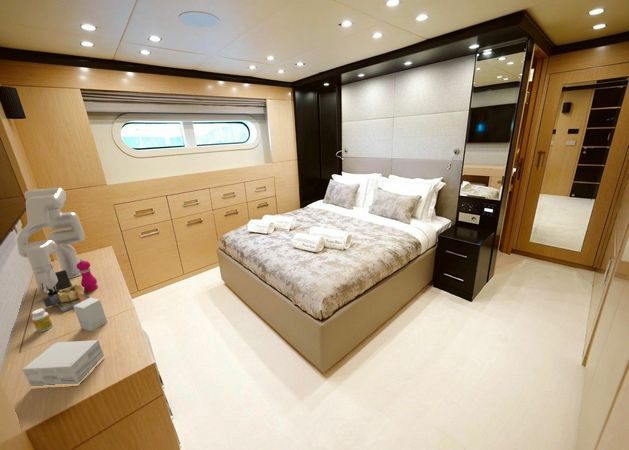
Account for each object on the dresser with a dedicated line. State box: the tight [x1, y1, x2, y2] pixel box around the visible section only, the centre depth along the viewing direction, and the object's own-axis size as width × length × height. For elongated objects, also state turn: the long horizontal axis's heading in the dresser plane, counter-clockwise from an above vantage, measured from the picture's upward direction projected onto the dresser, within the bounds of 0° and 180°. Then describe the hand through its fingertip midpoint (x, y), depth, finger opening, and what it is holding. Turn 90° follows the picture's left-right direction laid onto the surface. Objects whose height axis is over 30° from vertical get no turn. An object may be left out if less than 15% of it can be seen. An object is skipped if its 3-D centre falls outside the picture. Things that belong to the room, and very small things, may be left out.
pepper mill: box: [77, 258, 99, 293], centre depth 155 cm, size 7×7×20 cm
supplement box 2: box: [73, 297, 108, 332], centre depth 123 cm, size 7×7×13 cm
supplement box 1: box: [21, 339, 105, 387], centre depth 98 cm, size 17×13×9 cm
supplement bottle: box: [31, 308, 53, 333], centre depth 123 cm, size 5×5×10 cm
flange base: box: [55, 290, 91, 313], centre depth 144 cm, size 16×12×6 cm
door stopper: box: [54, 270, 73, 293], centre depth 156 cm, size 9×6×12 cm, turn 41°
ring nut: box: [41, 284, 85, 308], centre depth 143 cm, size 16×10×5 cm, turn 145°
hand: (54, 298), depth 143 cm, fingers closed
